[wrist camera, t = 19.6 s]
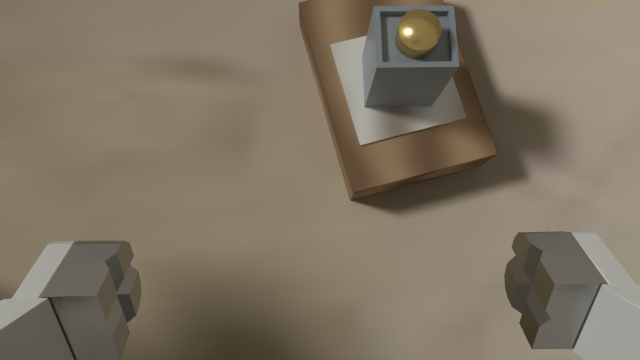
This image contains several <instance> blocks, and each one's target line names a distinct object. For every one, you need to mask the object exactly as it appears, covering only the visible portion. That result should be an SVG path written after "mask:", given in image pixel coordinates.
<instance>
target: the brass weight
mask: <svg viewBox="0 0 640 360" xmlns="http://www.w3.org/2000/svg"><path fill="white" fill-rule="evenodd" d="M441 33H442V26H441V23H440V21H439V19H438V18H437V16H436V15H435V14H433V13H432V12H430V11H428V10H425V9H414V10H411V11H409V12H407V13H406V14H405V15H404V16H403V17H402V19H401V21H400V23H399V26H398V29H397V32H396V35H395V44H396V47H397V49H398V50H399V51H400V53H402V54H403V55H404V56H406V57H408V58H411V59H422V58H425V57H427V56H428V55H430V54H431V53H432V51H433V50H434V48H435V46H436V44H437V42H438V40H439V38H440V36H441Z"/></svg>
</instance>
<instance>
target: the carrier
mask: <svg viewBox="0 0 640 360" xmlns="http://www.w3.org/2000/svg"><path fill="white" fill-rule="evenodd" d="M414 9H425V10H428V11H430V12H432V13H433V14H435V15H436V16H437V18H438V19H439V21H440V23H441V26H442V33H441V36H440V38H439V40H438V42H437V44H436V46H435V48H434V50H433V51H432V53H431V54H430V55H428V56H427V57H425V58H422V59H411V58H408V57H406V56H404V55H403V54H402V53H400V51H399V50H398V49H397V47H396V44H395V35H396V32H397V29H398V26H399V23H400V21H401V19H402V17H403V16H404V15H405V14H406V13H407V12H409V11H411V10H414ZM362 62H363V86H364V107H416V106H432V105H433V104H434V102H435V101H436V99H437V98H438V97H439V95H440V94H441V92H442V91H443V89H444V88H445V87H446V85H447V84H448V82H449V81H450V79H451V78H452V76H453V75H454V74H455V72H456V71H457V69H458V68H459V58H458V46H457V35H456V23H455V11H454V5H447V6H374V8H373V12H372V16H371V20H370V25H369V29H368V33H367V37H366V42H365V46H364V50H363V55H362Z"/></svg>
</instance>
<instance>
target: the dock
mask: <svg viewBox="0 0 640 360" xmlns="http://www.w3.org/2000/svg"><path fill="white" fill-rule="evenodd" d="M374 6H445V5H444V2H443V0H308V1H303V2H299V17H300V29H301V32H302V36H303V39H304V43H305V46H306V49H307V53H308V56H309V60H310V63H311V67H312V70H313V74H314V77H315V81H316V84H317V87H318V91H319V94H320V98H321V101H322V105H323V108H324V112H325V115H326V118H327V122H328V125H329V129H330V132H331V136H332V139H333V143H334V146H335V149H336V153H337V156H338V160H339V163H340V167H341V170H342V174H343V177H344V181H345V184H346V187H347V191H348V194H349V198H350V200H354V199H357V198H361V197H365V196H369V195H372V194H376V193H380V192H384V191H387V190H391V189H395V188H398V187H402V186H406V185H410V184H413V183H417V182H421V181H424V180H428V179H432V178H436V177H439V176H443V175H447V174H450V173H454V172H458V171H462V170H465V169H469V168H473V167H477V166H480V165H482V164H483V163H485V162H486V161H488V160H489V159H491V158H492V157H494V156H495V155H497V151H496V148H495V145H494V142H493V140H492V137H491V134H490V131H489V128H488V126H487V123H486V120H485V117H484V114H483V112H482V109H481V106H480V103H479V100H478V98H477V95H476V92H475V89H474V86H473V84H472V81H471V78H470V75H469V72H468V70H467V67H466V64H465V61H464V58H463V56H462V53H461V50H460V47H459V44H458V42H457V46H458V58H459V68H458V69H457V71H456V72H455V74H454V75H453V76H452V78H451V79H450V81H449V82H448V84H447V85H446V87H445V88H444V89H443V91H442V92H441V94H440V95H439V97H438V98H437V99H436V101H435V102H434V104H433V105H432V106H416V107H364V86H363V62H362V55H363V50H364V46H365V42H366V37H367V33H368V29H369V25H370V20H371V16H372V12H373V8H374Z"/></svg>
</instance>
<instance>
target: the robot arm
mask: <svg viewBox="0 0 640 360" xmlns="http://www.w3.org/2000/svg"><path fill="white" fill-rule="evenodd" d="M512 249H513V251H514V253H515V254H516V256H515V257H513V258H512V259H511V260H510V261H509V262H508V263H507V266H506V271H505V289H506V293H507V297H508V299H509V302H510V304H511V306H512V307H513V308H515V309H516V310H517V311H519V312H520V313H522V316H521V319H520V322H519V323H520V325H521V327H522V330H523V332H524V334H525V336H526V338H527V340H528V342H529V344H530V346H531V348H532V349H574V350H573V351H574V352H575V353H576V354H577V355H578V356H579V357H581V358H582V359H583V360H640V284H636V283H635V282H634V281H633V279H632V278H631V277H630V276H629V274H628V273H627V272H626V271H625V269H624V268H623V267H622V266H621V264H620V263H619V262H618V261H617V259H616V258H615V257H614V255H613V254H612V253H611V252H610V250H609V249H608V248H607V247H606V245H605V244H604V243H603V242H602V240H601V239H600V238H599V237H598V235H597V234H596V233H595V232H593V231H591V230H569V231H555V232H518V234H517V235H516V236H515V238H514V241H513V244H512ZM133 256H134V255H133V252H132V249H131V245H130V243H128V242H127V241H53V242H51V243H50V244H48V245H47V246H46V247H45V249H44V250H43V252H42V253H41V255H40V256H39V258H38V259H37V261H36V262H35V264H34V265H33V267H32V268H31V270H30V271H29V273H28V274H27V276H26V277H25V279H24V280H23V282H22V283H21V285H20V286H19V288H18V289H17V291H16V293H15V294H14V296H13V297H12V299H3V300H1V301H0V360H120V358H121V355H122V352H123V350H124V347H125V344H126V341H127V339H128V336H129V329H128V326H127V323H128V322H129V321H130V320H131V319H132V318H134V317H135V316H136V314H137V311H138V308H139V305H140V298H141V281H140V276H139V273H138V271H137V270H136V269H135V268H133V267H132V266H131V265H130V263H131V261H132V259H133Z"/></svg>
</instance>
